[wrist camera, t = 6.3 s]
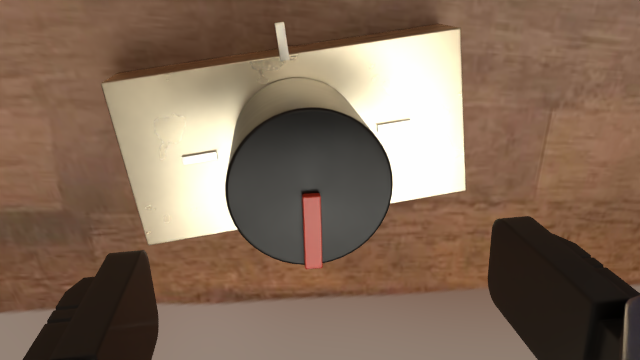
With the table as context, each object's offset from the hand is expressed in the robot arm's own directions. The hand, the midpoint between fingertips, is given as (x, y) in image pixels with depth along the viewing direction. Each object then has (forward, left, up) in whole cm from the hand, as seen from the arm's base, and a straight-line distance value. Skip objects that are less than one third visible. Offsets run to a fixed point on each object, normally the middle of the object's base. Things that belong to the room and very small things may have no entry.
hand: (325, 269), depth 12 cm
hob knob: (0, 0, -10) cm, 10 cm away
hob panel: (0, 0, -12) cm, 12 cm away
